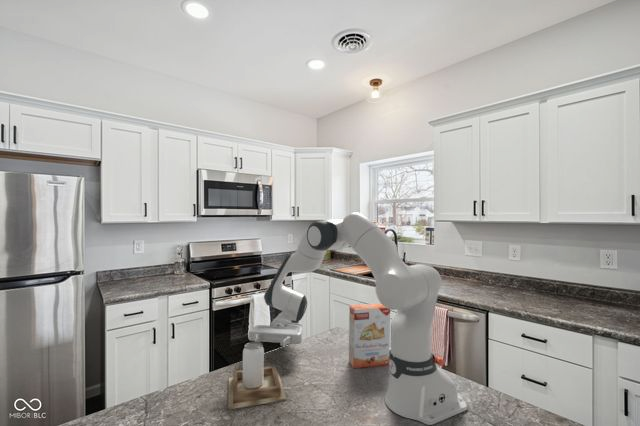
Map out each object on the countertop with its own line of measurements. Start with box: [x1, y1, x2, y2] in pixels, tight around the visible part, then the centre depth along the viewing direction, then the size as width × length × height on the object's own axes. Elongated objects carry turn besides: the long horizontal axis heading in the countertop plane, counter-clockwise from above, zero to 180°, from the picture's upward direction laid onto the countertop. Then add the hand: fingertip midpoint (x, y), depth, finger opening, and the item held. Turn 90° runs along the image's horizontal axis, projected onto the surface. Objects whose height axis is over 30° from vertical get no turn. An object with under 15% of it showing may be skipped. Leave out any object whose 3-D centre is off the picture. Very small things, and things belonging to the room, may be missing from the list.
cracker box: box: [348, 303, 391, 369], centre depth 109 cm, size 14×6×21 cm, turn 104°
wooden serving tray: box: [227, 365, 287, 410], centre depth 92 cm, size 16×16×3 cm
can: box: [242, 341, 265, 389], centre depth 94 cm, size 6×6×12 cm
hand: (269, 343), depth 105 cm, fingers open, 8 cm apart
